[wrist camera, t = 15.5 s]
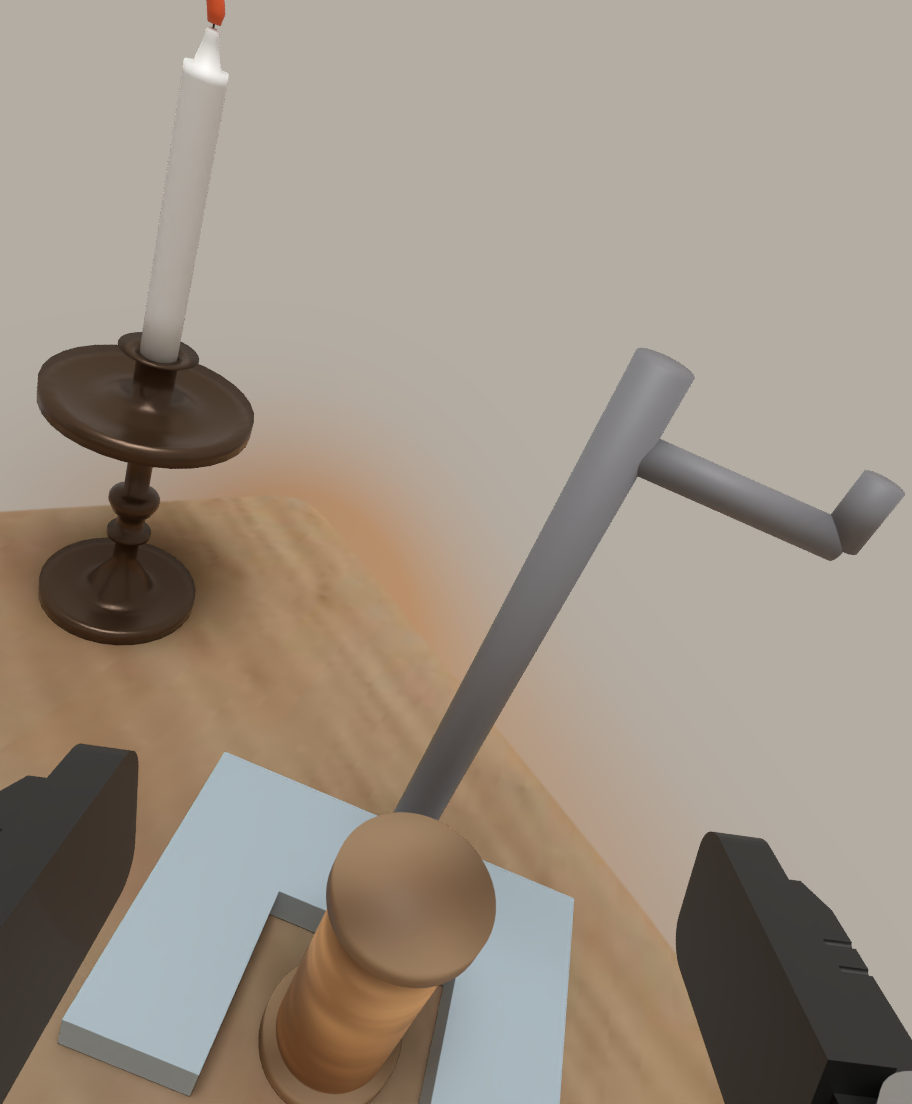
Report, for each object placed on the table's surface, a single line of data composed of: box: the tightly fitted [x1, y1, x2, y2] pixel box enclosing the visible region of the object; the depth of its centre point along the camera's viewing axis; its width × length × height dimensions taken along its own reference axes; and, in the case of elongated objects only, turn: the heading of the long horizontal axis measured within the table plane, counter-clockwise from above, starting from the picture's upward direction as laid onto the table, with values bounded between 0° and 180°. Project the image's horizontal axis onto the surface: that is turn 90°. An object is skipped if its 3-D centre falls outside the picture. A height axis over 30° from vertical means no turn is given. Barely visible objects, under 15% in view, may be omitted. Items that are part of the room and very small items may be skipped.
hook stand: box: [58, 348, 905, 1104], centre depth 29 cm, size 20×14×30 cm
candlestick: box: [37, 0, 254, 645], centre depth 41 cm, size 11×11×35 cm
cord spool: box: [259, 812, 496, 1104], centre depth 31 cm, size 6×6×12 cm
